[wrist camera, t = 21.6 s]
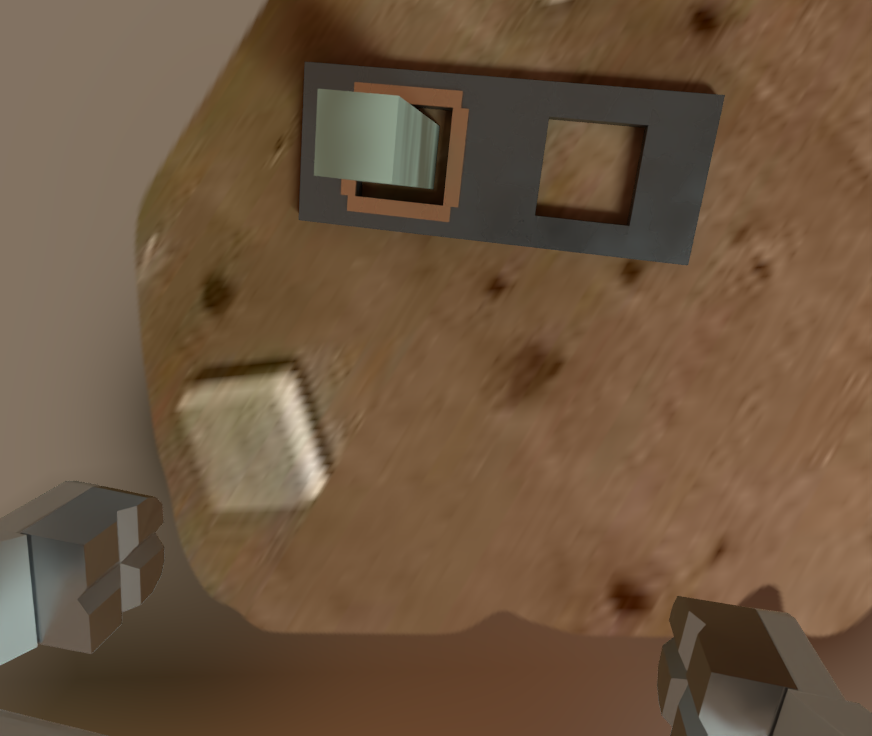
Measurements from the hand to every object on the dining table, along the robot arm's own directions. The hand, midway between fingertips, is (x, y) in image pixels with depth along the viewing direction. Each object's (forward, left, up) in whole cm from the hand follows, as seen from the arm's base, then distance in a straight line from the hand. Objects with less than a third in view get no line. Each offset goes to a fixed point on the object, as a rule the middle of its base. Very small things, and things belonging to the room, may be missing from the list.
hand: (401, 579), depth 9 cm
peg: (+8, -8, -34) cm, 36 cm away
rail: (+2, -8, -34) cm, 35 cm away
